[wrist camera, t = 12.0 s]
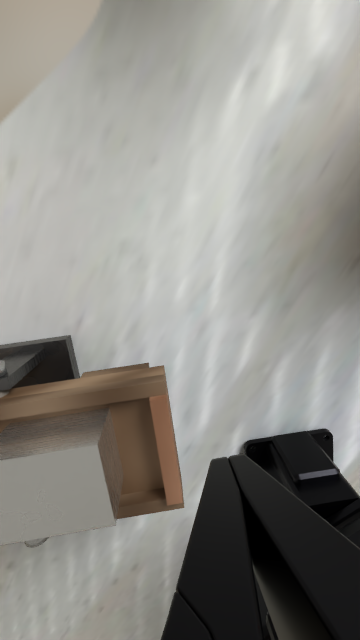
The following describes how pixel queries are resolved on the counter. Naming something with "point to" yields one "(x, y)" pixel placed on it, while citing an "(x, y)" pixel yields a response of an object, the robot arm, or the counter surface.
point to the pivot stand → (37, 369)
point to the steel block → (58, 476)
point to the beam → (117, 427)
